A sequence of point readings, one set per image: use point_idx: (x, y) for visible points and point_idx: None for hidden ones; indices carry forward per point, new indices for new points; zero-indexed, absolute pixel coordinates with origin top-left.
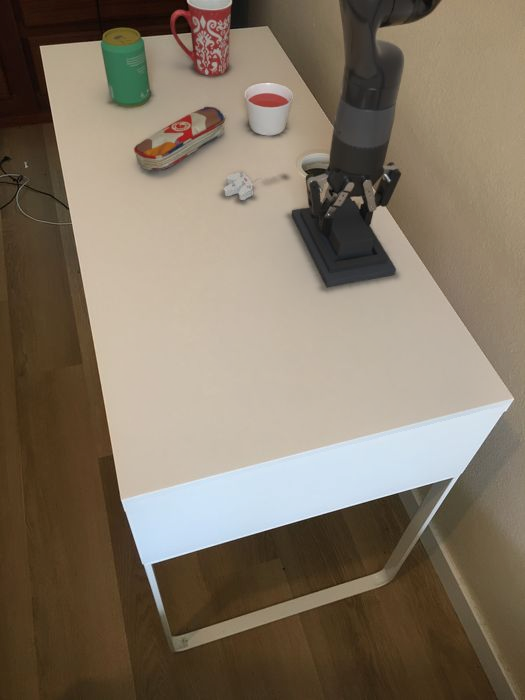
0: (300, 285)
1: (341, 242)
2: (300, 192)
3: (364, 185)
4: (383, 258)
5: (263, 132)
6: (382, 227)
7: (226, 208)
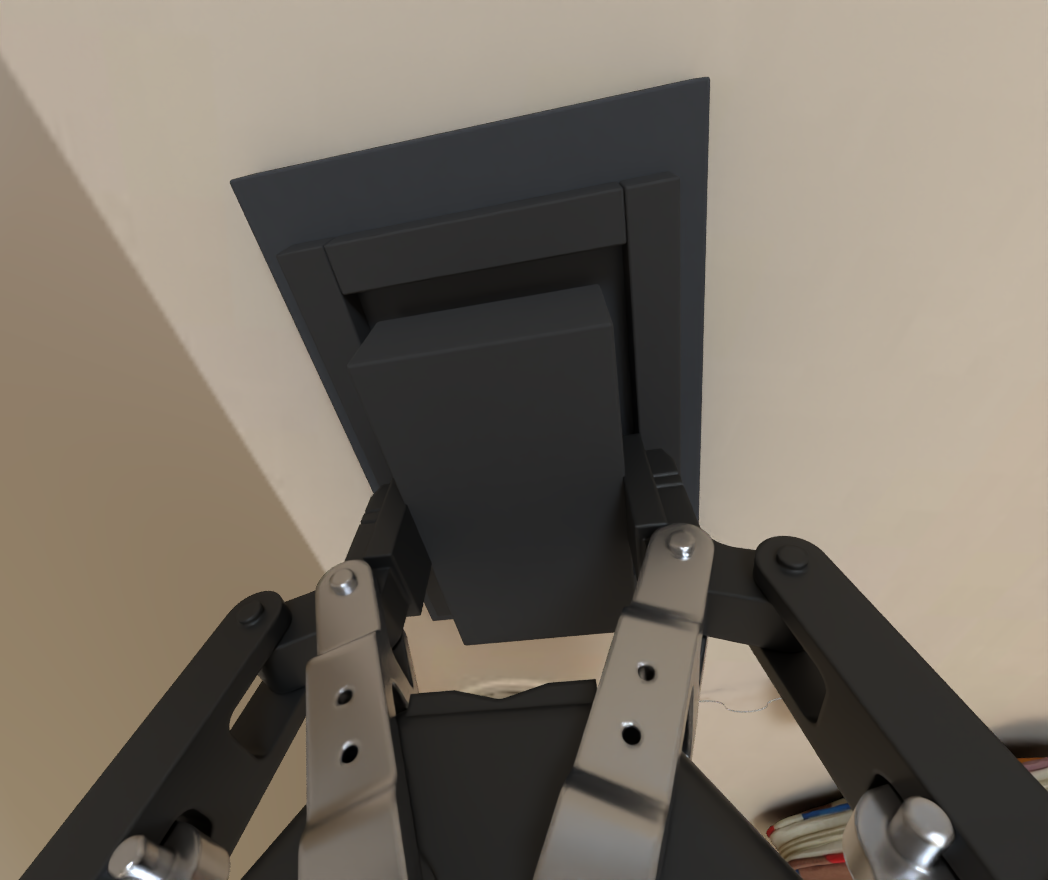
0: (849, 116)
1: (599, 336)
2: None
3: (391, 875)
4: (305, 253)
5: None
6: (324, 499)
7: (916, 613)
